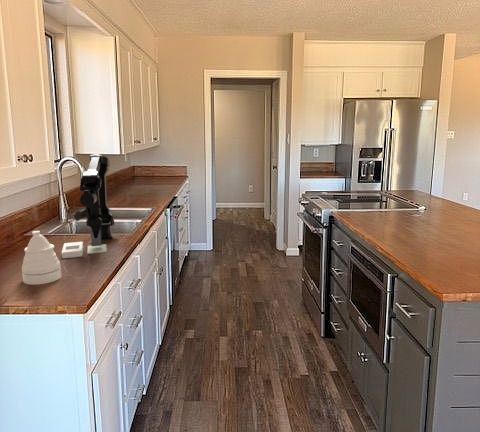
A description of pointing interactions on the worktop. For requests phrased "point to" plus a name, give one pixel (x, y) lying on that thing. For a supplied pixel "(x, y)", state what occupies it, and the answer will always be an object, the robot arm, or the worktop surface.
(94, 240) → the grey rectangular block
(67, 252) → the cream window plate
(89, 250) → the green pad
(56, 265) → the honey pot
